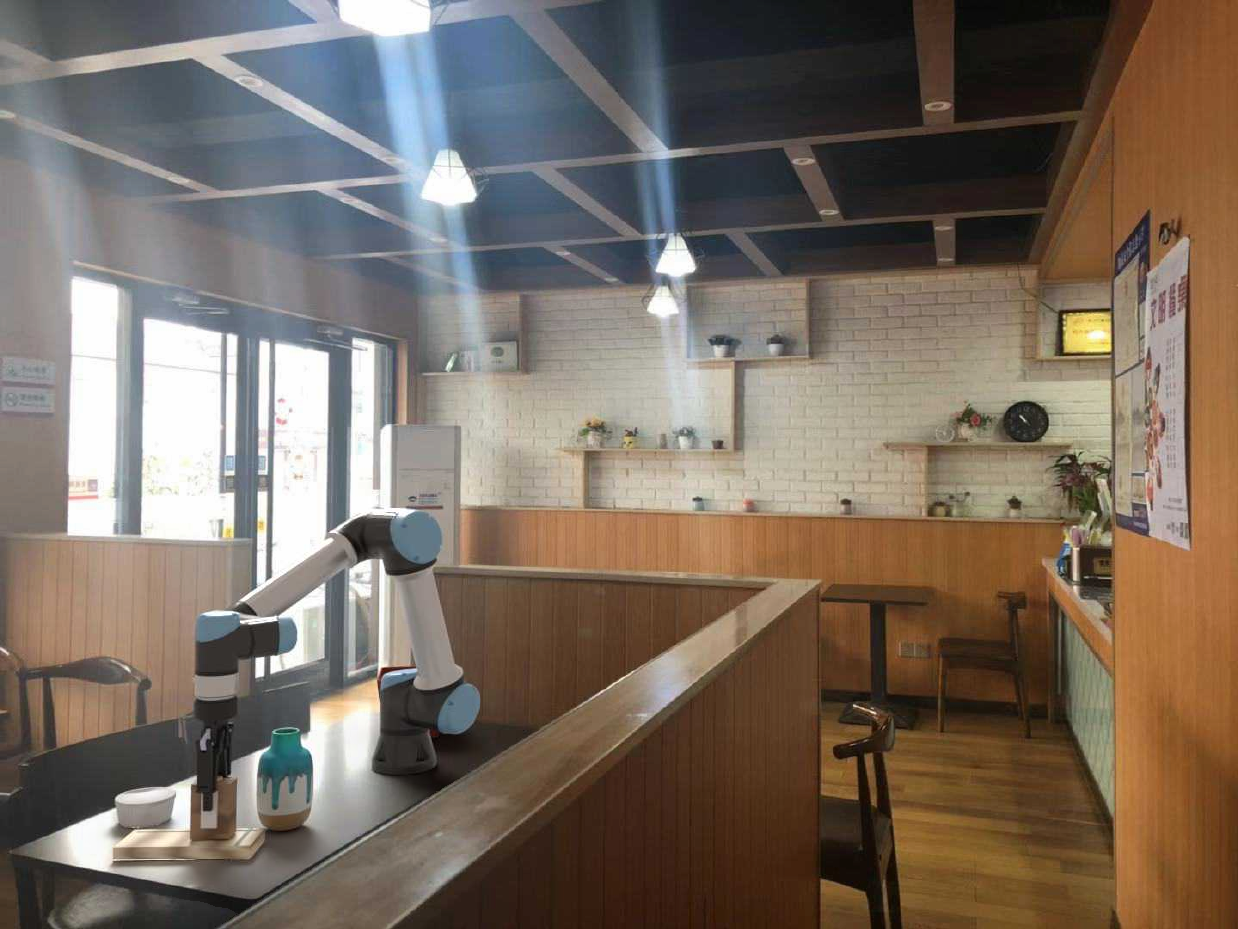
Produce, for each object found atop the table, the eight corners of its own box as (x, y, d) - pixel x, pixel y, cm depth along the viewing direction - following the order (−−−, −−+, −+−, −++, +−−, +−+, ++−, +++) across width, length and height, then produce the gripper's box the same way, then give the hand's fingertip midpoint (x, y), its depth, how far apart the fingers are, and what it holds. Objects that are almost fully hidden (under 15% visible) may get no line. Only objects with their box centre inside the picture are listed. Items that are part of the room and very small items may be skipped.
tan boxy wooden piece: (242, 825, 186) (243, 769, 186) (229, 839, 178) (230, 781, 179) (204, 825, 185) (205, 769, 186) (189, 839, 178) (191, 781, 178)
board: (264, 841, 185) (264, 827, 185) (249, 859, 176) (250, 845, 176) (134, 843, 184) (134, 829, 184) (112, 861, 175) (113, 847, 175)
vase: (280, 842, 185) (281, 740, 185) (244, 831, 191) (245, 732, 191) (324, 825, 194) (325, 729, 194) (288, 815, 200) (290, 721, 200)
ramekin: (160, 808, 204) (160, 782, 204) (186, 820, 197) (186, 794, 197) (104, 822, 195) (104, 795, 195) (129, 835, 188) (130, 807, 188)
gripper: (211, 686, 189) (209, 808, 189) (177, 706, 172) (174, 840, 171) (251, 686, 190) (248, 807, 189) (221, 706, 172) (218, 839, 172)
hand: (213, 822), depth 180 cm, fingers closed on tan boxy wooden piece, 4 cm apart
